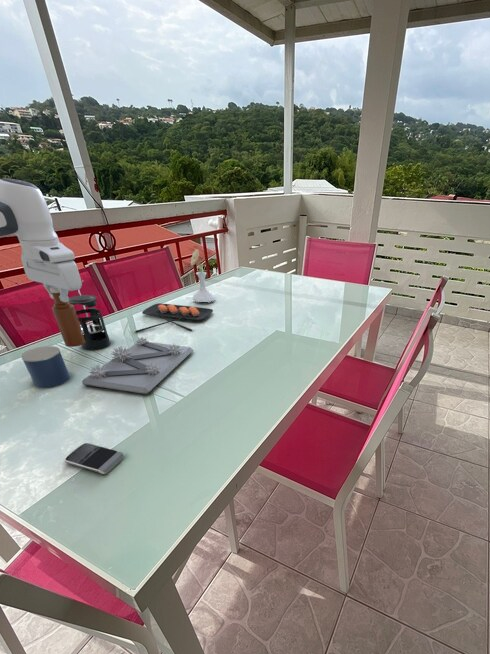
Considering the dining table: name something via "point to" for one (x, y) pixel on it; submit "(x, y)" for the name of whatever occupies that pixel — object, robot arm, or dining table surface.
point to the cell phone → (94, 458)
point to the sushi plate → (176, 313)
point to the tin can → (46, 366)
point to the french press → (91, 330)
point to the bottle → (67, 320)
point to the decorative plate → (138, 366)
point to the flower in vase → (201, 283)
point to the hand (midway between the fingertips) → (60, 300)
